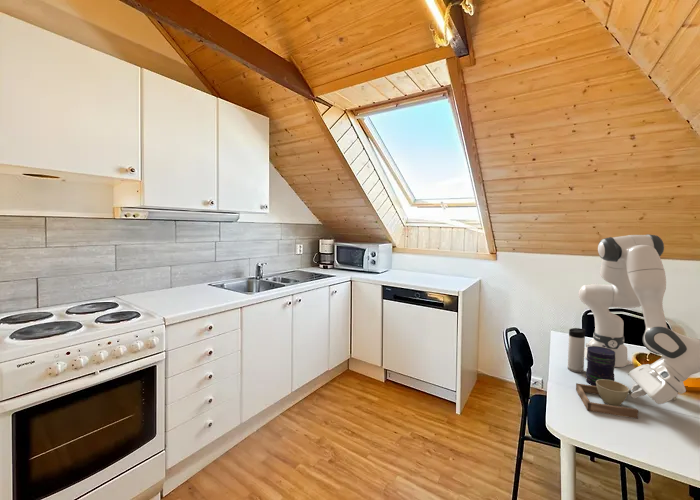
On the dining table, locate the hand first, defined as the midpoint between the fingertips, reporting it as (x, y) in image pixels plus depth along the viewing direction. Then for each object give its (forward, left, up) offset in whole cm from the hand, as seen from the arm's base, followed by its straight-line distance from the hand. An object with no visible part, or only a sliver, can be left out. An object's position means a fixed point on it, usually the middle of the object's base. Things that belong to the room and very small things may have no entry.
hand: (630, 395), depth 123 cm
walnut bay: (0, -7, -5) cm, 9 cm away
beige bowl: (-1, -5, -5) cm, 7 cm away
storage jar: (-18, -4, -5) cm, 19 cm away
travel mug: (-30, -10, -5) cm, 32 cm away
